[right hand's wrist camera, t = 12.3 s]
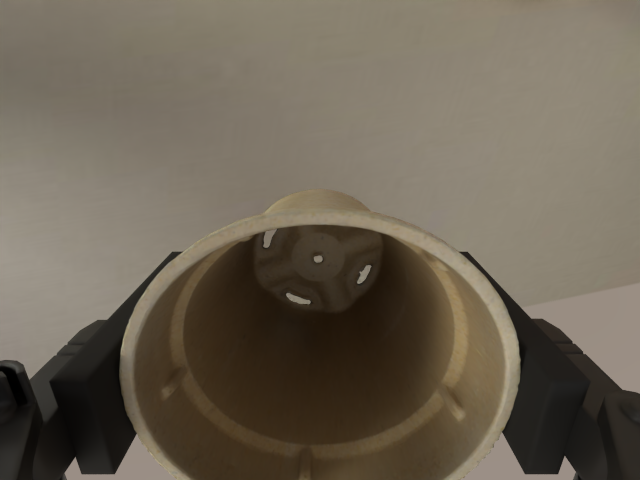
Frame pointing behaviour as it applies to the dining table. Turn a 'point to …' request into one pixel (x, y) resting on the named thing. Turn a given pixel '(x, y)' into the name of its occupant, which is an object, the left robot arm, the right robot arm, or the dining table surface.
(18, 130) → the dining table surface
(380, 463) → the plant pot
